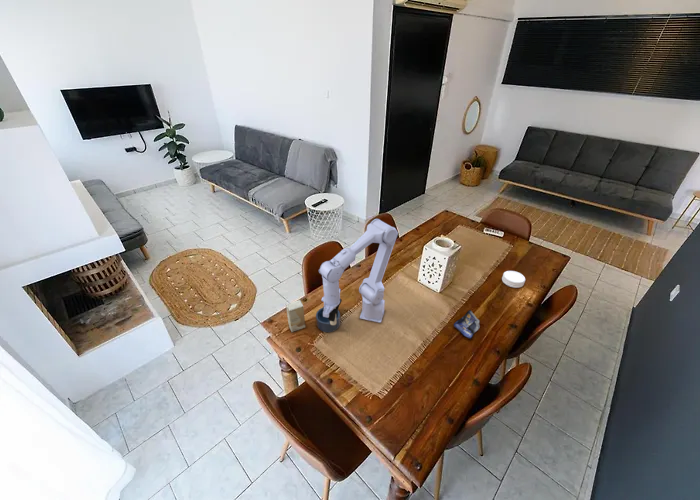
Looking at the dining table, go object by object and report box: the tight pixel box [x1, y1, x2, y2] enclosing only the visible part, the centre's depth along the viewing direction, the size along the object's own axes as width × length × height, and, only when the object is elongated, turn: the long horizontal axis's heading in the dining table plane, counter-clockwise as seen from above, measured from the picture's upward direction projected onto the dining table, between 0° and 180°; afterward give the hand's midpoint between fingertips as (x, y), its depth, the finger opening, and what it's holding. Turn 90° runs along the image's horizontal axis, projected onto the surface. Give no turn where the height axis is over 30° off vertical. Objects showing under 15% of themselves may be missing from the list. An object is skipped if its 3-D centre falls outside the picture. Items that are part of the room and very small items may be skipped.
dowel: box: [330, 307, 337, 325], centre depth 118 cm, size 3×3×8 cm
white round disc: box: [501, 270, 526, 289], centre depth 150 cm, size 10×10×4 cm
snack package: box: [453, 309, 481, 340], centre depth 124 cm, size 12×6×12 cm
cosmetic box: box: [285, 299, 306, 333], centre depth 124 cm, size 6×4×12 cm
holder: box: [315, 307, 341, 333], centre depth 128 cm, size 10×10×5 cm
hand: (333, 317), depth 118 cm, fingers closed on dowel, 2 cm apart
